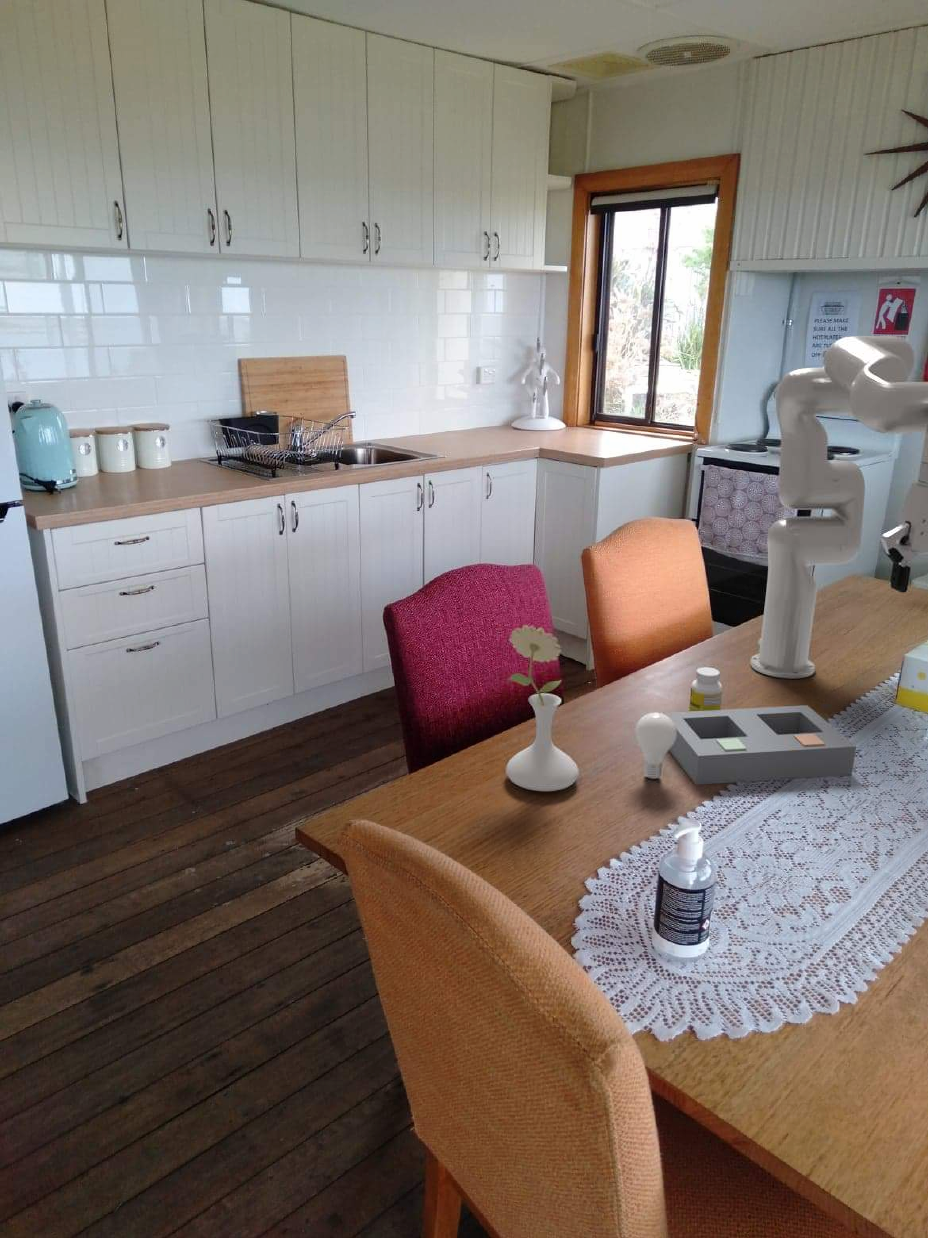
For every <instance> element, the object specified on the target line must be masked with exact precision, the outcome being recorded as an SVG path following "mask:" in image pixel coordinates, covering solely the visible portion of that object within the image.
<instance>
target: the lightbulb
mask: <svg viewBox="0 0 928 1238" xmlns="http://www.w3.org/2000/svg"><path fill="white" fill-rule="evenodd" d="M634 736H635V740H636V743H637V744H638V746H639V748H640V749H641V750H642V757H643V760H644V768H643V770H644V771H643V775H644V776H645V777H647V778H648V779H650V780H655V779H658V778H660V777H661V776H662V767H663V762H664V760H665V757H666V755H667V754H668V752H669V751H670V748H671V747H672V746H673V745H674V743H675V741H676V737H677V730H676V726H675V724H674V722H673V721H672V720H671V719H670V718H669V717H668V716H666V715H665V714H663V713H661V712H656V711H655V712H650V713H647V714H645V715H643V716H642V717H641V718H639V720H638V722H637V723H636V725H635V730H634Z"/></svg>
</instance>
